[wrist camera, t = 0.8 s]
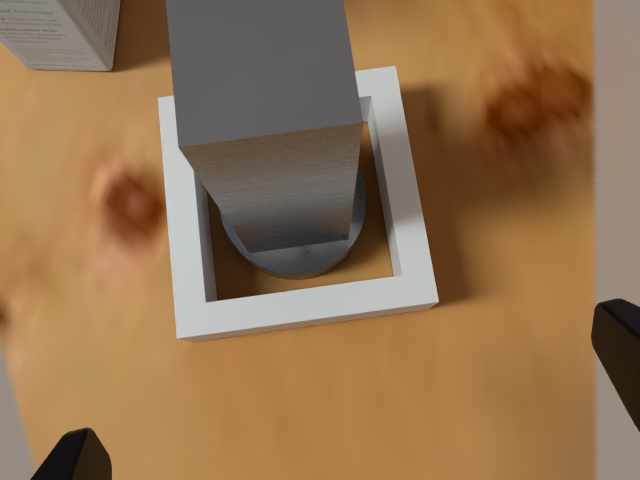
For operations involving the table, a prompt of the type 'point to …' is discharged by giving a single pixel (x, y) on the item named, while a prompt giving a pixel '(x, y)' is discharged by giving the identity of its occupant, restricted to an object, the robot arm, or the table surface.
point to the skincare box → (61, 33)
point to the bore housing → (313, 303)
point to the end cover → (272, 126)
